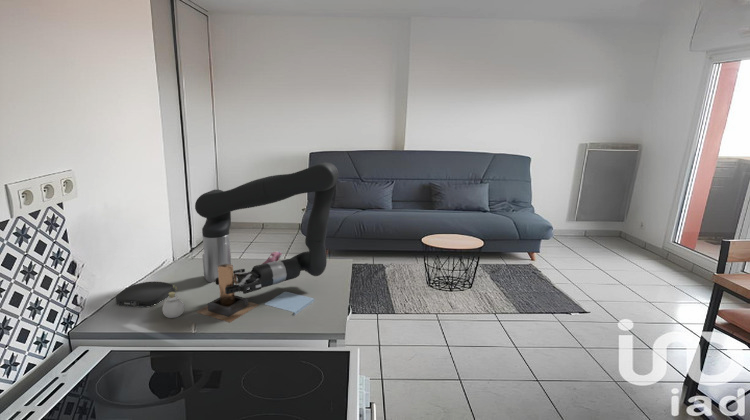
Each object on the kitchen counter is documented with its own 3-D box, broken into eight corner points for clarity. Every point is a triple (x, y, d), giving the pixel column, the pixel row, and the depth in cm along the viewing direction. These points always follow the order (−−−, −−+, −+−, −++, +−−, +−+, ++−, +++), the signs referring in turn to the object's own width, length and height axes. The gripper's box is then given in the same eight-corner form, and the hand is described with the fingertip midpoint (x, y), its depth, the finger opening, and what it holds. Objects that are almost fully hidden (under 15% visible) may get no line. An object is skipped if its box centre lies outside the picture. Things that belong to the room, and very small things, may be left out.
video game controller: (268, 274, 171) (275, 259, 169) (258, 268, 171) (265, 254, 169) (278, 265, 180) (285, 251, 178) (269, 259, 180) (275, 246, 178)
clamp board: (196, 314, 134) (195, 304, 133) (227, 298, 146) (226, 289, 145) (230, 325, 128) (229, 314, 127) (259, 307, 140) (259, 297, 139)
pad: (264, 307, 140) (264, 304, 140) (285, 294, 150) (285, 291, 149) (294, 315, 135) (294, 312, 135) (314, 301, 145) (314, 298, 144)
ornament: (159, 322, 130) (156, 291, 127) (170, 310, 137) (166, 281, 134) (180, 322, 130) (177, 291, 127) (189, 310, 137) (186, 281, 135)
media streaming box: (178, 290, 152) (177, 282, 152) (152, 309, 138) (151, 300, 138) (140, 287, 154) (139, 279, 153) (110, 305, 140) (109, 297, 139)
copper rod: (217, 309, 136) (214, 267, 132) (228, 304, 140) (225, 263, 136) (228, 312, 134) (225, 270, 130) (238, 306, 138) (235, 265, 134)
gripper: (259, 257, 148) (211, 268, 138) (278, 270, 137) (228, 282, 127) (260, 277, 150) (213, 289, 140) (279, 291, 139) (230, 305, 129)
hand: (220, 286), depth 134 cm, fingers open, 8 cm apart
